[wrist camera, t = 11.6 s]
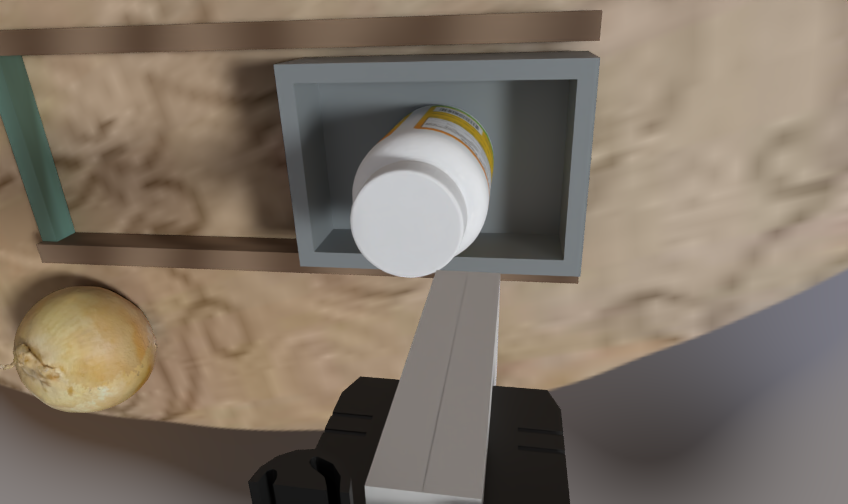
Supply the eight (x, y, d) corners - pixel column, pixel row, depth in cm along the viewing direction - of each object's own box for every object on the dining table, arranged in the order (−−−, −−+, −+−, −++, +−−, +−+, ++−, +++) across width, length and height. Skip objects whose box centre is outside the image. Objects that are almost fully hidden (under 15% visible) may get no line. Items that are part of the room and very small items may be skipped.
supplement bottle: (405, 218, 29) (357, 308, 20) (374, 118, 27) (306, 170, 18) (505, 196, 28) (500, 282, 19) (480, 89, 26) (462, 130, 17)
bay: (66, 249, 35) (42, 262, 33) (-3, 30, 30) (-36, 31, 28) (574, 267, 30) (578, 283, 29) (596, 10, 25) (602, 10, 23)
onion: (187, 309, 36) (116, 375, 29) (156, 392, 39) (85, 467, 33) (75, 250, 35) (-23, 304, 29) (53, 339, 39) (-40, 405, 32)
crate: (325, 236, 31) (300, 266, 28) (305, 57, 27) (273, 64, 24) (572, 243, 29) (580, 276, 26) (587, 51, 25) (600, 57, 22)
